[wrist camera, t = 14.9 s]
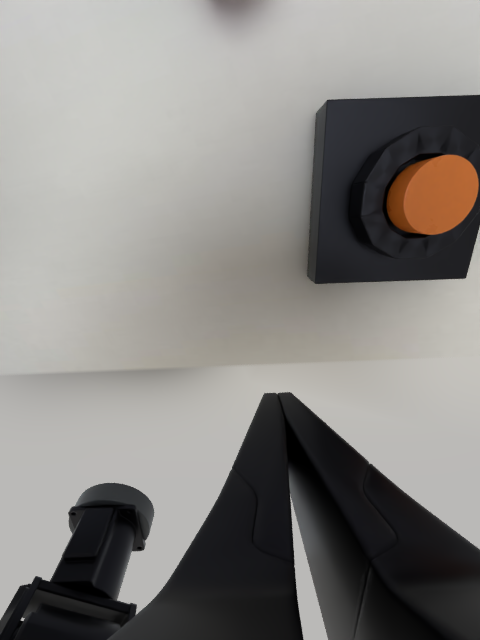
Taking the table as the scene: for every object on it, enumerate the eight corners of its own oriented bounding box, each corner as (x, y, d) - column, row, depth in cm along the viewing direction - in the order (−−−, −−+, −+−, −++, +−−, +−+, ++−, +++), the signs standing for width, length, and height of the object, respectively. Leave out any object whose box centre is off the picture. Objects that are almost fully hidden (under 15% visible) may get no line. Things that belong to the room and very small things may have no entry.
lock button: (444, 231, 16) (468, 233, 14) (381, 233, 16) (398, 236, 14) (460, 159, 15) (488, 153, 13) (391, 161, 15) (411, 155, 13)
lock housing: (443, 271, 21) (489, 285, 17) (306, 276, 21) (322, 291, 17) (481, 107, 17) (550, 78, 13) (316, 112, 17) (338, 85, 13)
